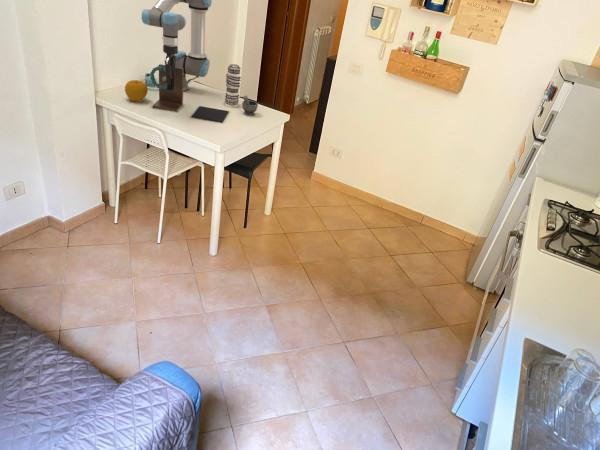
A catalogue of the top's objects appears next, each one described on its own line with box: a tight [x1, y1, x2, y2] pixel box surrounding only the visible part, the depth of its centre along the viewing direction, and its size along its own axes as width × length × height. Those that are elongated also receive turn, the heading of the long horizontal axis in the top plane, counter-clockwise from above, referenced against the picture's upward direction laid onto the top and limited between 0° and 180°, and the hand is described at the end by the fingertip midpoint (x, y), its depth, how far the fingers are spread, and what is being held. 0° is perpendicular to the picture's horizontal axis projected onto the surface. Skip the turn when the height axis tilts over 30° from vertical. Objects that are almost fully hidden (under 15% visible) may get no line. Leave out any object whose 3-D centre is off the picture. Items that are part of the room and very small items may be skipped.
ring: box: [149, 65, 167, 89], centre depth 238 cm, size 2×12×12 cm, turn 88°
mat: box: [190, 105, 229, 123], centre depth 258 cm, size 20×18×1 cm
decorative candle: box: [224, 63, 242, 108], centre depth 273 cm, size 9×9×25 cm
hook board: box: [152, 63, 184, 113], centre depth 252 cm, size 15×14×22 cm
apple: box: [124, 79, 149, 103], centre depth 255 cm, size 13×13×11 cm
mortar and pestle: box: [241, 95, 259, 116], centre depth 267 cm, size 11×9×12 cm
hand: (170, 89), depth 241 cm, fingers closed on ring, 2 cm apart
